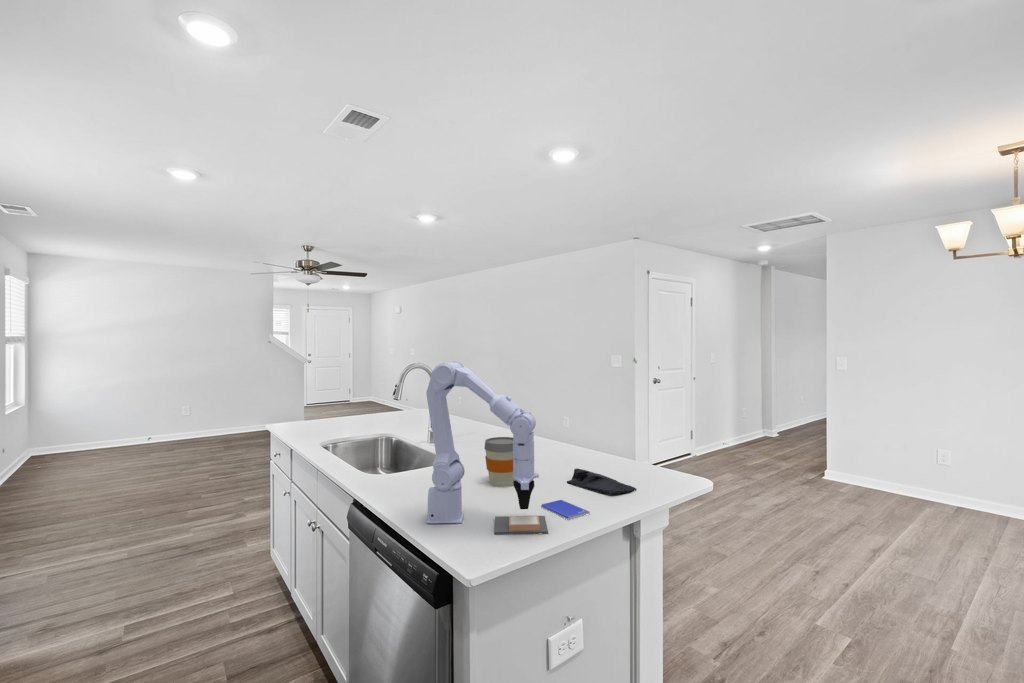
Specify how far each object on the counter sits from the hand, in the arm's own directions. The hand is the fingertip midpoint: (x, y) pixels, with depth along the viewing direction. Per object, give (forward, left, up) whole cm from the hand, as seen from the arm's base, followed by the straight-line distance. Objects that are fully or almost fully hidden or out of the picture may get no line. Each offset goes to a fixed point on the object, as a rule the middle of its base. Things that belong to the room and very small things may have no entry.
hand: (524, 508), depth 128 cm
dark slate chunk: (+28, +34, -6) cm, 44 cm away
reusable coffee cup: (-6, +39, -5) cm, 40 cm away
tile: (0, +1, -3) cm, 3 cm away
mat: (-1, 0, -5) cm, 5 cm away
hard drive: (+12, +11, -6) cm, 17 cm away
